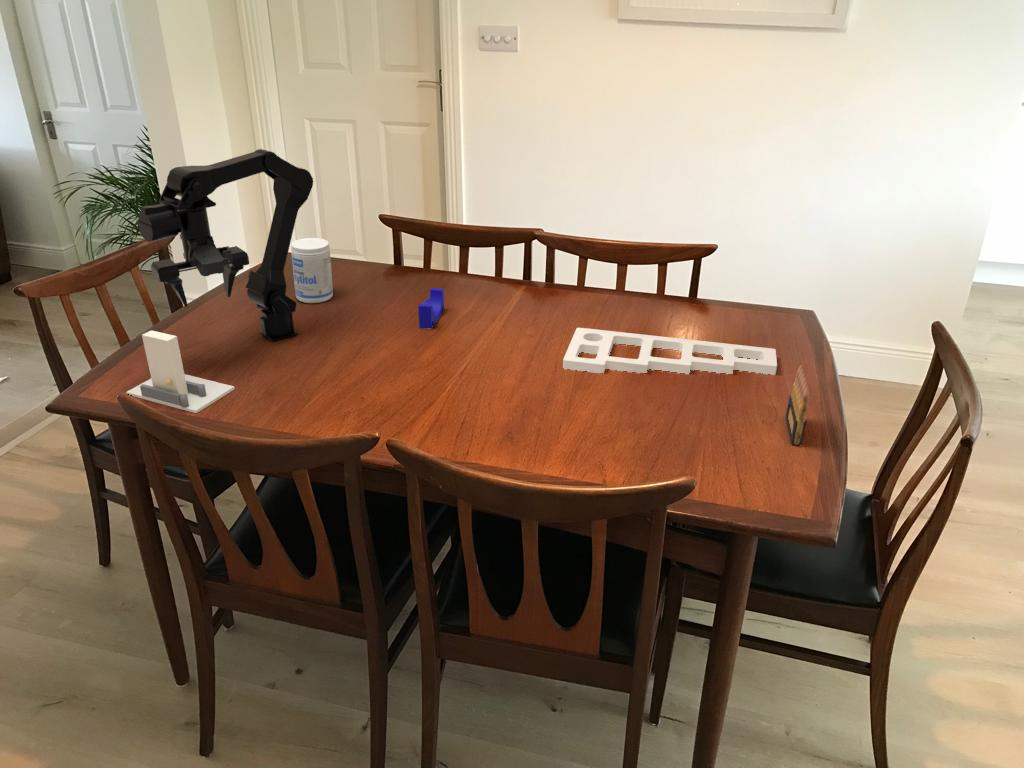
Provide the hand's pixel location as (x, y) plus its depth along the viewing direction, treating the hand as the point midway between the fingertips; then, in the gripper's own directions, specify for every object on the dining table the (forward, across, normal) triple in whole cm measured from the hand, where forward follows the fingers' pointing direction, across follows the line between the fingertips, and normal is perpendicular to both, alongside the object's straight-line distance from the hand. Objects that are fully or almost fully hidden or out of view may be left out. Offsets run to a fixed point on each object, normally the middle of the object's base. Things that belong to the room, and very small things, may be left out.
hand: (207, 301), depth 174 cm
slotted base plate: (+13, -12, -12) cm, 21 cm away
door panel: (+12, -14, -13) cm, 23 cm away
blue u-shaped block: (+13, +49, -10) cm, 52 cm away
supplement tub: (+13, +33, +19) cm, 40 cm away
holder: (+14, +78, -63) cm, 101 cm away
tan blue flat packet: (+13, +75, -97) cm, 123 cm away
